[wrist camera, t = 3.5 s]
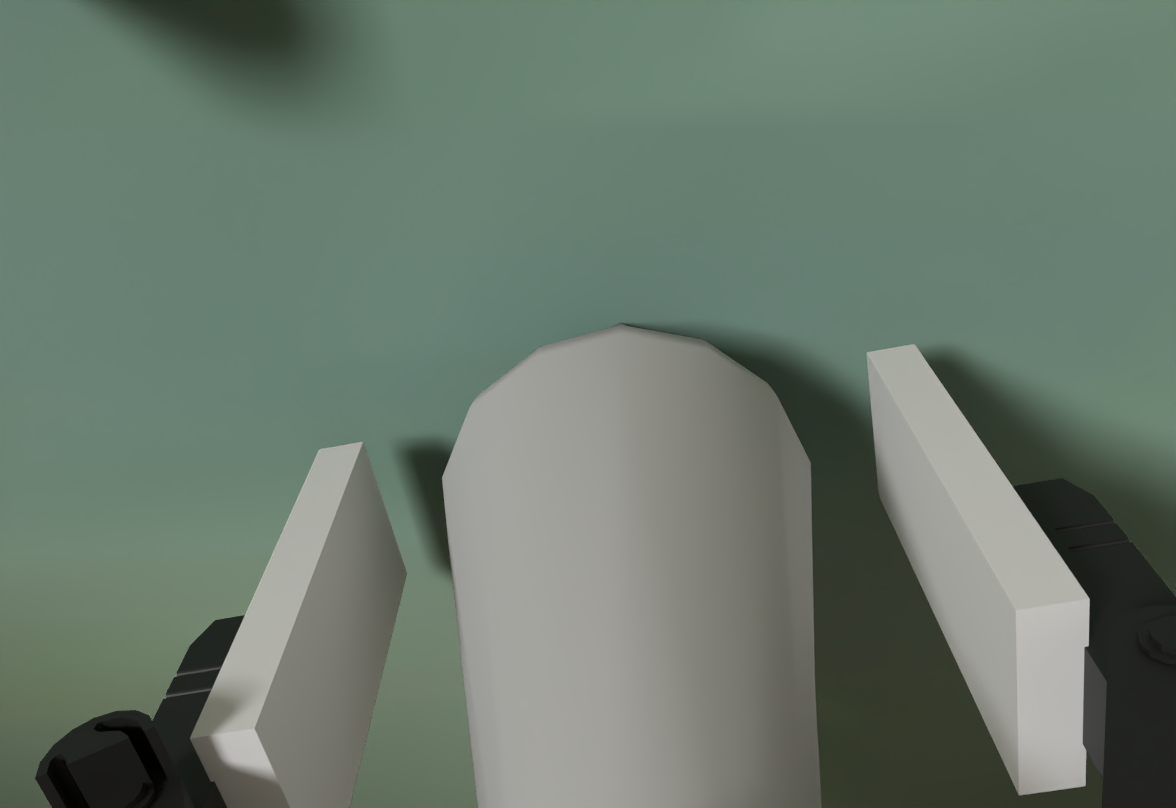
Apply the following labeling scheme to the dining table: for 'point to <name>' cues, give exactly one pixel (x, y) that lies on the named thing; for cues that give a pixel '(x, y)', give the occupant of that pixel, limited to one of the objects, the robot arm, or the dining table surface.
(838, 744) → the dining table surface
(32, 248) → the dining table surface
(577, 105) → the dining table surface
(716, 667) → the salt shaker
